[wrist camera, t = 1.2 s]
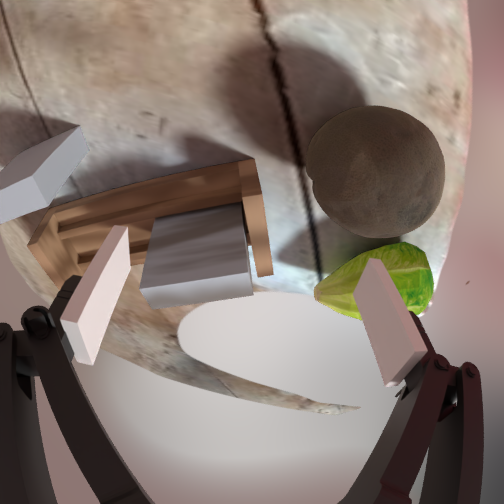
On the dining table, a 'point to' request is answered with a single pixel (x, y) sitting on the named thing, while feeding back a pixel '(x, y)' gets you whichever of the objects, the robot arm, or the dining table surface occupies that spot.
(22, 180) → the gray angular faceted block
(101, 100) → the dining table surface
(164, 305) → the wooden slotted stand
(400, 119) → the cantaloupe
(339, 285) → the lettuce
